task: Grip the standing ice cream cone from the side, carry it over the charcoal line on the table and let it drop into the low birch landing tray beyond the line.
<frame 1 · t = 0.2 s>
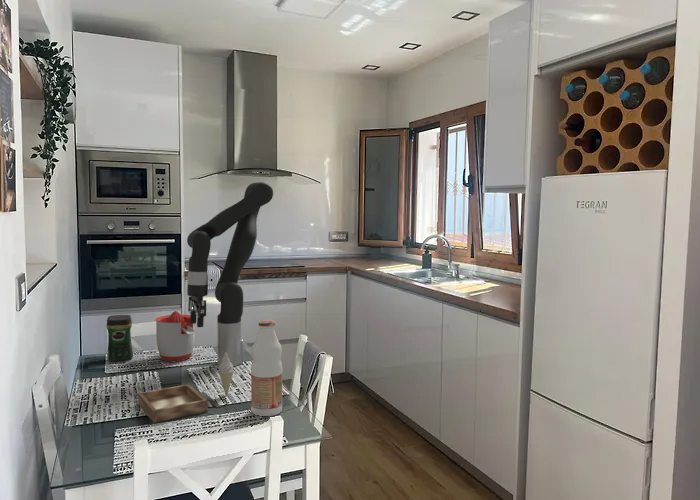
hand: (196, 325, 199), 17 cm above the table, fingers open, 8 cm apart
citrus juicer: (177, 359, 216), on the table
landing tray: (172, 407, 161), on the table
fruit juice: (266, 412, 159), on the table
ice cream cone: (226, 396, 173), on the table
coffee jar: (120, 360, 213), on the table
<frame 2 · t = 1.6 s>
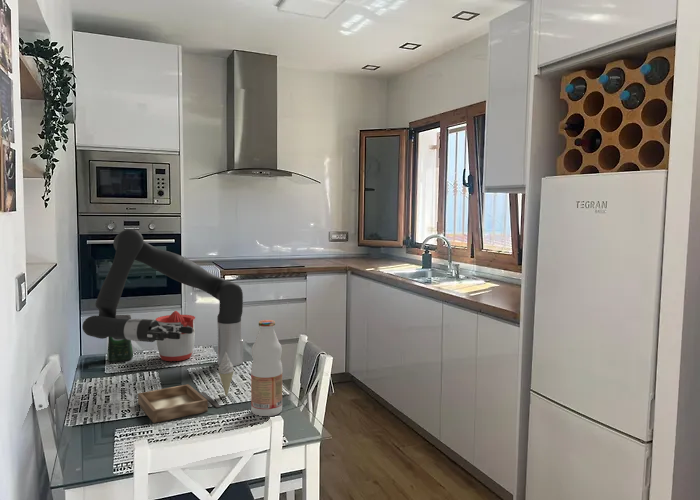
hand: (186, 333, 174), 20 cm above the table, fingers open, 8 cm apart
nothing on the table moved.
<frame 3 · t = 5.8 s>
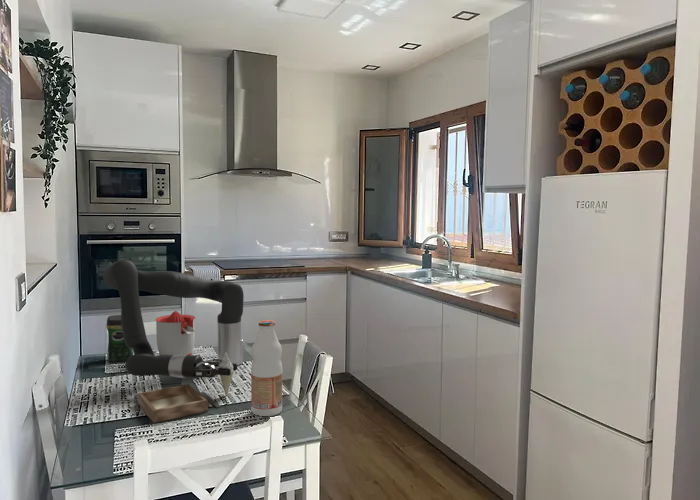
hand: (233, 369, 172), 9 cm above the table, fingers closed on ice cream cone, 5 cm apart
ice cream cone: (226, 396, 173), on the table, touching gripper
everything else where it was.
when the fingers open (11 cm above the table, at t = 11.8 s): ice cream cone drops 1 cm, resting on landing tray.
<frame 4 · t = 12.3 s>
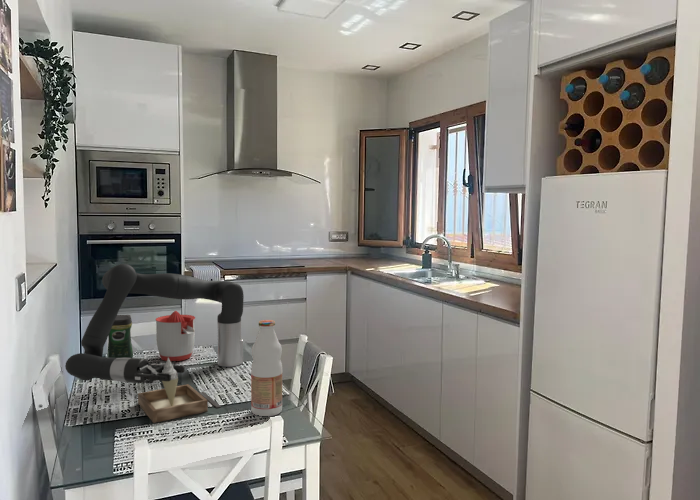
hand: (177, 373, 160), 11 cm above the table, fingers open, 8 cm apart
ice cream cone: (171, 406, 161), resting on landing tray, touching gripper
everything else where it was.
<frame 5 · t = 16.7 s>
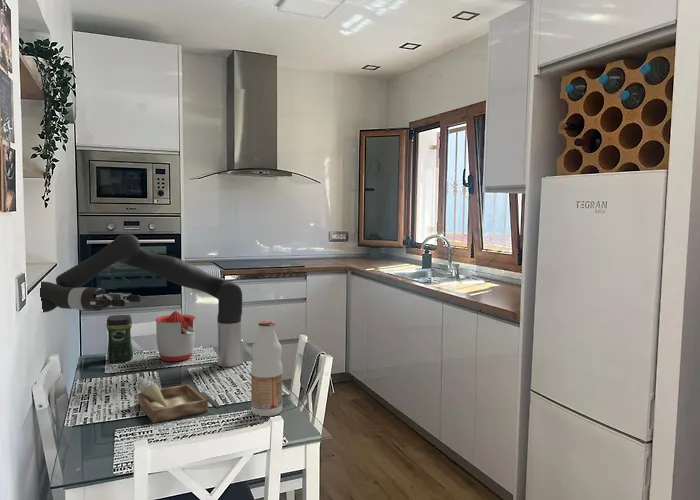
hand: (132, 300, 168), 32 cm above the table, fingers open, 8 cm apart
ice cream cone: (167, 407, 160), point 1 cm above the table, touching landing tray
everything else where it was.
at the end: ice cream cone inside the target area (1.8 cm from its centre), point 0.7 cm above the table; ice cream cone moved 19.8 cm from its start; the gripper is holding nothing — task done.
